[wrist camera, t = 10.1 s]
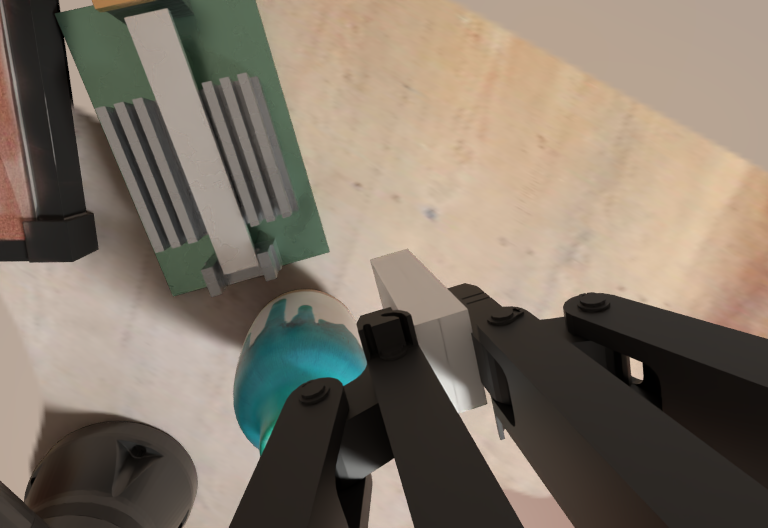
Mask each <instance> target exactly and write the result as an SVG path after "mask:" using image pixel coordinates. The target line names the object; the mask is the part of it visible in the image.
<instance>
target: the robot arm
mask: <svg viewBox="0 0 768 528" xmlns="http://www.w3.org/2000/svg"><path fill="white" fill-rule="evenodd" d="M370 261H371V265H372V269H373V273H374V276H375V280H376V284H377V287H378V291H379V295H380V299H381V302H382V306H383V309H382V310H378V311H375V312H372V313H368V314H365V315H362V316H360V318H359V320H358V322H357V324H356V325H357V329H358V334H359V337H360V340H361V344H362V347H363V351H364V354H365V358H366V361H367V365H366V368H365V370H364V371H363V372H362V374H361V375H359V376H358V377H357V378H356V379H354V380H353V381H351V382H350V383H348V384H346V385H344V386H343V384H342V382H340V381H339V380H338V379H336V378H331V377H326V378H318V379H315V380H310V381H307V383H303V384H302V385H300V386H299V387H298V388H296V389H295V390H294V391H293V392H291V394H290V395H289V396H288V398H287V399H286V401H285V404H284V406H283V408H282V410H281V412H280V415H279V417H278V419H277V421H276V424H275V426H274V428H273V430H272V432H271V435H270V437H269V439H268V441H267V444H266V446H265V448H264V450H263V452H262V455H261V457H260V459H259V461H258V464H257V466H256V468H255V470H254V473H253V475H252V477H251V479H250V481H249V484H248V486H247V488H246V490H245V493H244V495H243V497H242V499H241V501H240V504H239V506H238V508H237V510H236V513H235V515H234V517H233V519H232V521H231V524H230V526H229V528H368V520H369V511H370V502H371V493H372V476H371V473H372V472H373V471H375V470H376V469H378V468H379V467H381V466H383V465H384V464H386V463H387V462H389V461H390V460H392V459H393V458H395V462H396V465H397V469H398V472H399V476H400V479H401V483H402V486H403V490H404V493H405V496H406V500H407V503H408V507H409V510H410V514H411V517H412V521H413V524H414V528H524V527H523V525H522V524H521V522H520V520H519V518H518V517H517V515H516V513H515V511H514V509H513V508H512V506H511V505H510V503H509V501H508V499H507V497H506V496H505V494H504V492H503V490H502V489H501V487H500V485H499V483H498V482H497V480H496V478H495V476H494V475H493V473H492V471H491V470H490V468H489V466H488V464H487V463H486V461H485V459H484V457H483V456H482V454H481V452H480V450H479V449H478V447H477V445H476V443H475V442H474V440H473V438H472V437H471V435H470V433H469V431H468V430H467V428H466V426H465V424H464V423H463V421H462V419H461V417H460V416H459V413H462V412H465V411H468V410H471V409H474V408H477V407H480V406H483V405H486V404H487V400H486V395H485V390H484V387H485V388H486V389H487V391H488V392H489V393H490V395H491V399H492V404H493V409H494V414H495V419H496V424H497V429H498V434H499V437H500V440H503V439H505V437H504V432H503V431H504V429H506V430H507V432H508V433H509V435H510V436H511V437H512V439H513V440H514V442H515V443H516V445H517V446H518V447H519V449H520V450H521V452H522V453H523V455H524V456H525V457H526V459H527V460H528V462H529V463H530V465H531V466H532V467H533V469H534V470H535V472H536V473H537V474H538V476H539V477H540V479H541V480H542V482H543V483H544V484H545V486H546V487H547V489H548V490H549V492H550V493H551V494H552V496H553V497H554V499H555V500H556V501H557V503H558V504H559V506H560V507H561V509H562V510H563V511H564V513H565V514H566V516H567V517H568V519H569V520H570V521H571V523H572V524H573V526H574V527H575V528H768V339H766V338H762V337H759V336H755V335H752V334H748V333H745V332H741V331H738V330H734V329H731V328H727V327H724V326H720V325H717V324H713V323H710V322H706V321H703V320H699V319H696V318H692V317H689V316H685V315H682V314H678V313H674V312H671V311H667V310H664V309H660V308H657V307H653V306H650V305H646V304H643V303H639V302H636V301H632V300H629V299H625V298H622V297H618V296H615V295H610V294H604V293H594V292H591V293H587V294H586V293H584V294H580V295H579V296H576V297H573V298H571V299H569V300H568V301H566V302H565V304H564V306H563V310H564V317H559V318H552V319H544V320H539V319H538V318H536V317H535V316H534V315H532V314H531V313H530V312H528V311H527V310H525V309H522V308H519V307H512V306H511V307H502V306H501V305H500V304H498V303H497V302H496V301H495V300H493V299H492V298H490V296H488V295H487V294H486V293H484V291H482V290H481V289H480V288H479V287H477V286H474V285H470V284H466V283H464V284H461V285H457V286H454V287H451V288H446V287H445V286H444V285H443V284H442V283H441V282H440V281H439V280H438V279H437V278H436V277H435V276H434V275H433V274H432V273H431V272H430V271H429V270H428V269H427V268H426V267H425V266H424V265H423V264H422V263H421V262H420V261H419V260H418V259H417V258H416V257H415V256H414V255H413V254H412V253H411V252H410V251H409V250H408V249H405V250H402V251H398V252H395V253H391V254H388V255H384V256H381V257H378V258H374V259H371V260H370ZM629 357H631V358H633V359H636V360H638V361H641V362H643V374H644V378H643V380H639V379H637V378H634V377H632V376H631V369H630V358H629ZM197 486H198V480H197V473H196V469H195V466H194V463H193V461H192V459H191V457H190V456H189V454H188V453H187V452H186V450H185V449H184V448H183V447H182V446H181V445H180V444H179V443H178V442H177V441H176V440H174V439H173V438H172V437H170V436H169V435H167V434H165V433H164V432H162V431H160V430H157V429H155V428H152V427H150V426H146V425H143V424H138V423H132V422H104V423H98V424H94V425H90V426H87V427H84V428H81V429H79V430H77V431H75V432H73V433H71V434H69V435H67V436H66V437H64V438H63V439H62V440H60V441H59V442H58V443H57V444H56V445H55V446H54V447H53V448H52V449H51V450H50V451H49V452H48V454H47V455H46V456H45V457H44V458H43V460H42V461H41V462H40V463H39V465H38V466H37V467H36V469H35V470H34V472H33V474H32V476H31V478H30V480H29V482H28V485H27V489H26V492H25V498H24V502H23V501H22V500H21V499H20V498H18V497H17V496H16V495H15V494H14V493H13V492H12V491H11V490H10V489H9V488H8V487H6V486H5V485H4V484H3V483H2V482H1V481H0V528H183V526H184V525H185V523H186V521H187V519H188V517H189V515H190V512H191V509H192V506H193V503H194V500H195V497H196V493H197Z"/></svg>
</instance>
